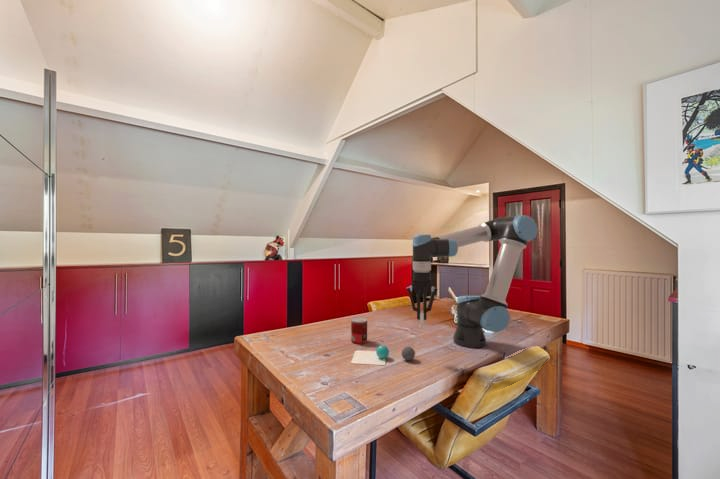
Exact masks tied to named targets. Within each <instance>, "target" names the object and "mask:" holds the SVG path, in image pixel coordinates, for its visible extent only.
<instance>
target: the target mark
mask: <svg viewBox="0 0 720 479" xmlns="http://www.w3.org/2000/svg"><path fill="white" fill-rule="evenodd" d="M386 360H387V359H386V358H385V359H381V358H379V357H378V356H377V354H376V350H355V351H354V354H353V356H352V358H351V361H350V364H354V365H370V366H386Z"/></svg>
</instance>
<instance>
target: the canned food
mask: <svg viewBox="0 0 720 479" xmlns="http://www.w3.org/2000/svg"><path fill="white" fill-rule="evenodd" d="M350 324H351V325H350V326H351V328H350V330H351V332H350V334H351V337H350V340H351V343H352V344H355V345H363V344H366V343H367V342H368V318H366V317H365V318H364V317H353V318H352V319H351V322H350Z"/></svg>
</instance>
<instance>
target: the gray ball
mask: <svg viewBox="0 0 720 479" xmlns="http://www.w3.org/2000/svg"><path fill="white" fill-rule="evenodd" d="M401 356H402V358H403V359H404V360H405V361H408V362H409V361H413V359H415V356H416V352H415V350H414V348H413V347H412V346H405V347H404V348H402V350H401Z"/></svg>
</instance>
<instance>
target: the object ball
mask: <svg viewBox="0 0 720 479" xmlns="http://www.w3.org/2000/svg"><path fill="white" fill-rule="evenodd" d="M375 351H376V354H377V356H378V357H379V358H381V359H385V358H388V357H389V354H390V350H389V348H388V346H386V345H385V344H382V345H379V346H378V347H377V348H376V349H375Z"/></svg>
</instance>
